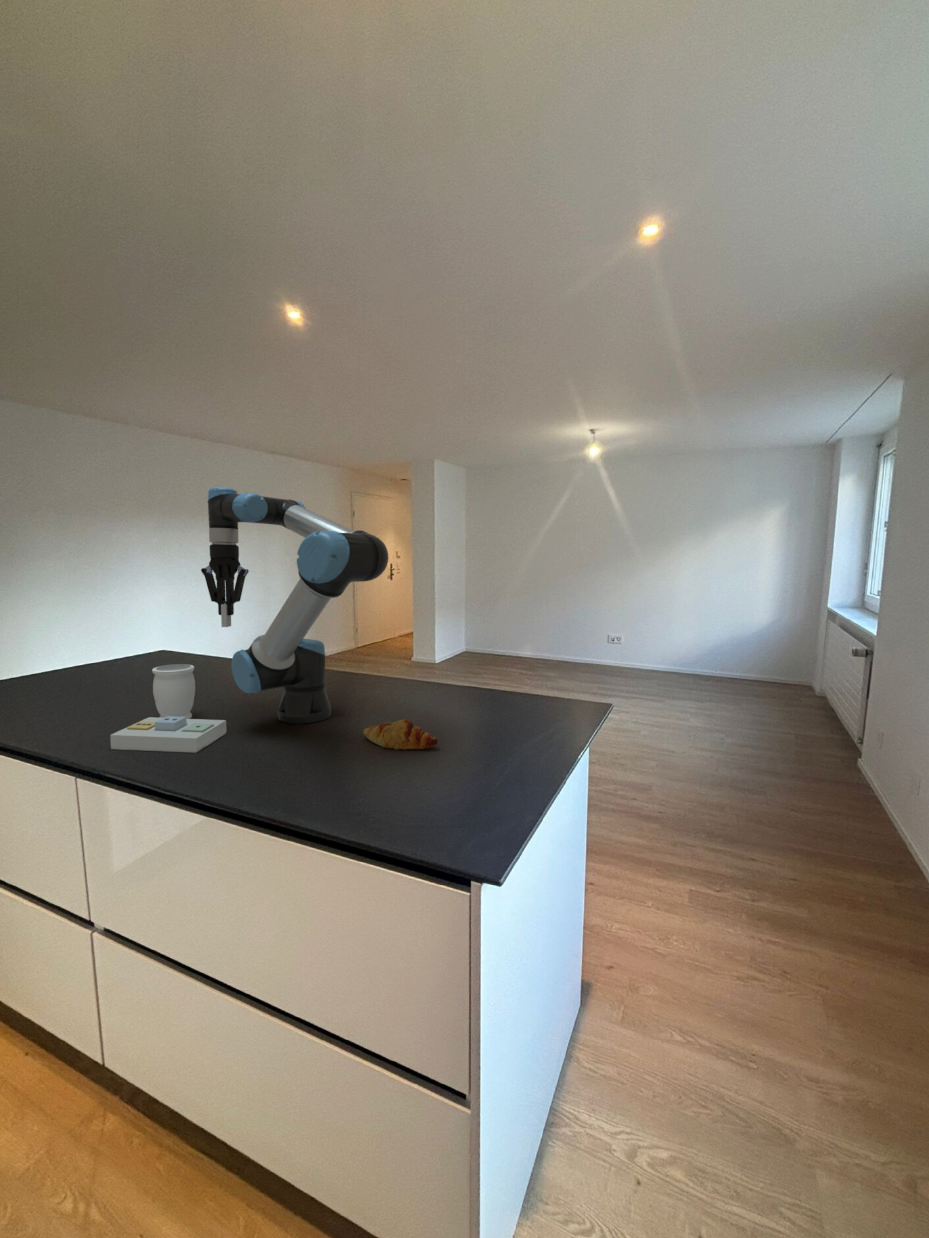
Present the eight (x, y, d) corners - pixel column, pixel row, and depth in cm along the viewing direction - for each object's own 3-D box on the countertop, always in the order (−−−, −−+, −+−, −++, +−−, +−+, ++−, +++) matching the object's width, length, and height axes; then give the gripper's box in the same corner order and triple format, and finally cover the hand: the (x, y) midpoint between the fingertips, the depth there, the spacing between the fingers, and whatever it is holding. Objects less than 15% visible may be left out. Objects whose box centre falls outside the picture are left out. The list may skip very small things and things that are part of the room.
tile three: (160, 733, 132) (159, 721, 131) (147, 739, 127) (147, 727, 126) (141, 732, 132) (140, 720, 132) (127, 739, 127) (127, 727, 127)
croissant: (358, 754, 133) (349, 732, 128) (375, 726, 140) (367, 705, 136) (433, 765, 125) (427, 742, 121) (447, 735, 133) (441, 713, 129)
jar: (183, 725, 141) (181, 671, 139) (145, 724, 141) (143, 670, 140) (203, 713, 152) (201, 664, 150) (168, 712, 152) (166, 663, 150)
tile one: (213, 735, 131) (213, 723, 131) (202, 742, 126) (202, 729, 126) (194, 734, 131) (194, 722, 131) (183, 741, 126) (182, 729, 126)
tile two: (186, 728, 131) (186, 716, 131) (174, 734, 126) (174, 722, 126) (167, 727, 131) (167, 715, 131) (155, 734, 127) (154, 721, 126)
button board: (226, 733, 136) (226, 720, 135) (196, 752, 122) (196, 738, 121) (149, 730, 137) (148, 717, 136) (111, 749, 123) (110, 734, 122)
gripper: (252, 545, 149) (254, 625, 151) (208, 544, 149) (211, 624, 152) (240, 544, 141) (242, 628, 144) (194, 543, 142) (197, 627, 144)
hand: (226, 626), depth 148 cm, fingers closed
